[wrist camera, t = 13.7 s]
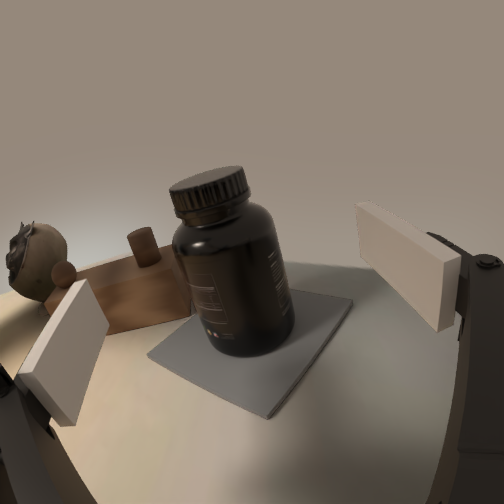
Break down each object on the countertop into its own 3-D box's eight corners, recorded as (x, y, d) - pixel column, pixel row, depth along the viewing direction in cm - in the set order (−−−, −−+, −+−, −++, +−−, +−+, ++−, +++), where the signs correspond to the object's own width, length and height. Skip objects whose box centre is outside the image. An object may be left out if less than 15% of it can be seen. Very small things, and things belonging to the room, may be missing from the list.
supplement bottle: (253, 296, 29) (217, 162, 24) (314, 318, 24) (284, 157, 19) (192, 339, 25) (137, 194, 20) (249, 375, 20) (190, 196, 15)
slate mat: (148, 357, 24) (146, 354, 24) (239, 282, 32) (238, 279, 32) (267, 419, 17) (266, 416, 17) (352, 303, 25) (352, 299, 25)
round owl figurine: (17, 322, 36) (55, 323, 33) (-21, 247, 31) (10, 233, 28) (57, 285, 45) (98, 280, 42) (26, 218, 40) (64, 201, 37)
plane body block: (66, 343, 28) (30, 277, 25) (82, 312, 34) (53, 252, 31) (189, 316, 29) (159, 236, 26) (192, 284, 34) (167, 215, 31)
